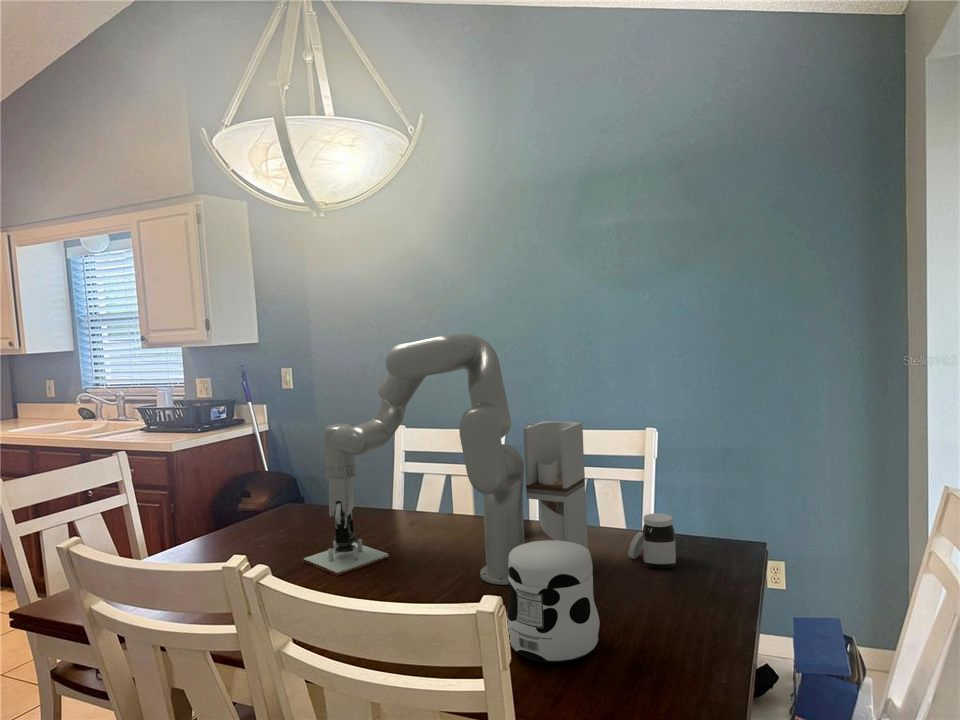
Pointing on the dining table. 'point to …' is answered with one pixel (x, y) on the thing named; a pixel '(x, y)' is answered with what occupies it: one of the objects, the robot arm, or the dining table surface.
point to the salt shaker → (347, 546)
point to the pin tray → (346, 557)
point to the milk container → (552, 601)
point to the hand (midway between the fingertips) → (345, 538)
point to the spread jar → (655, 542)
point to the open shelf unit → (557, 478)
